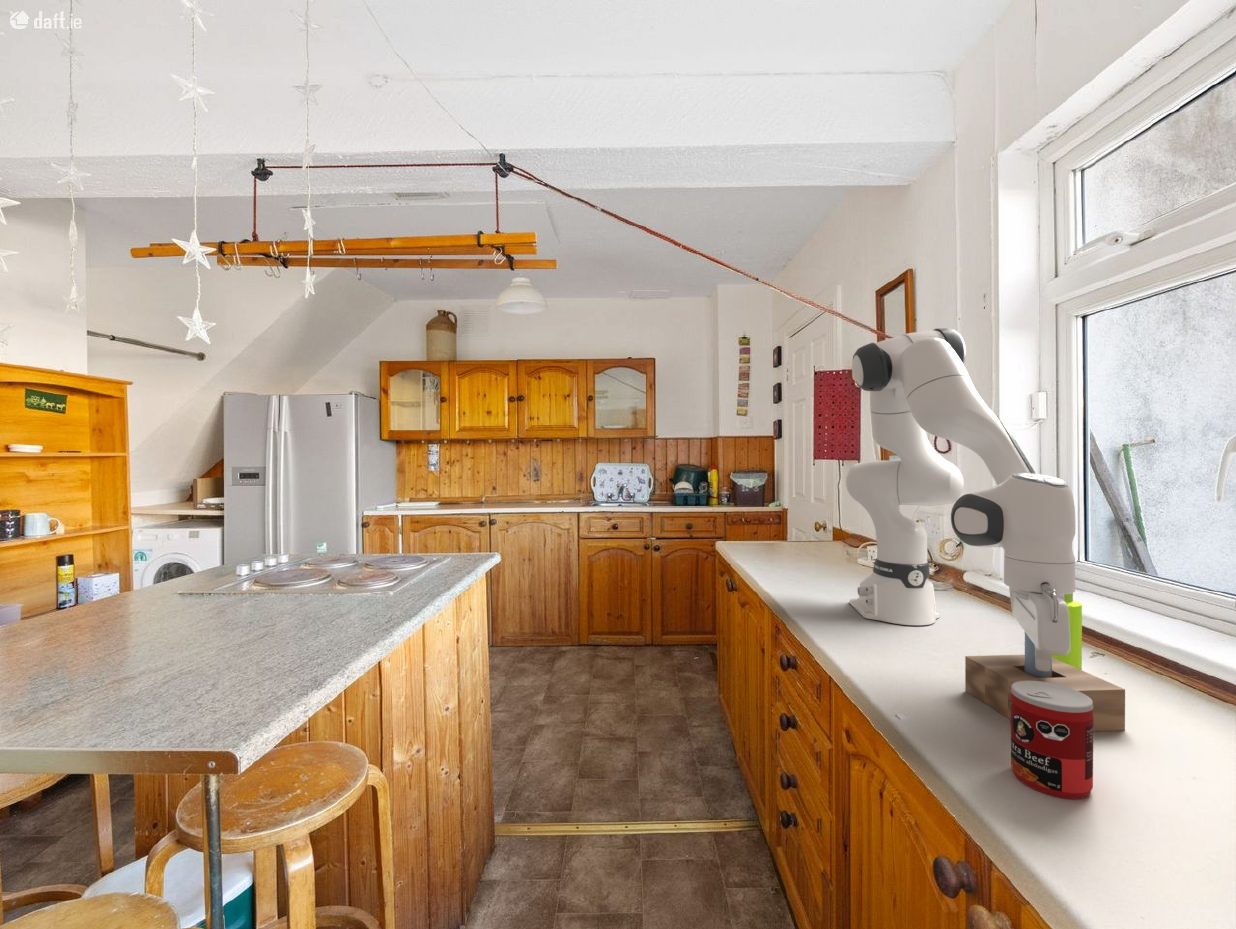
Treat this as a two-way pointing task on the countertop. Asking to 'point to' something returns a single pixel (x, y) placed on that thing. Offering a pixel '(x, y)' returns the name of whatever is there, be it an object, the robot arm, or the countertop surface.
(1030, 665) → the dowel
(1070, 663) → the soap dispenser
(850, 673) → the countertop surface
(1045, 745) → the canned food
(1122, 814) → the countertop surface
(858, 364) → the robot arm
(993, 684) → the socket block
